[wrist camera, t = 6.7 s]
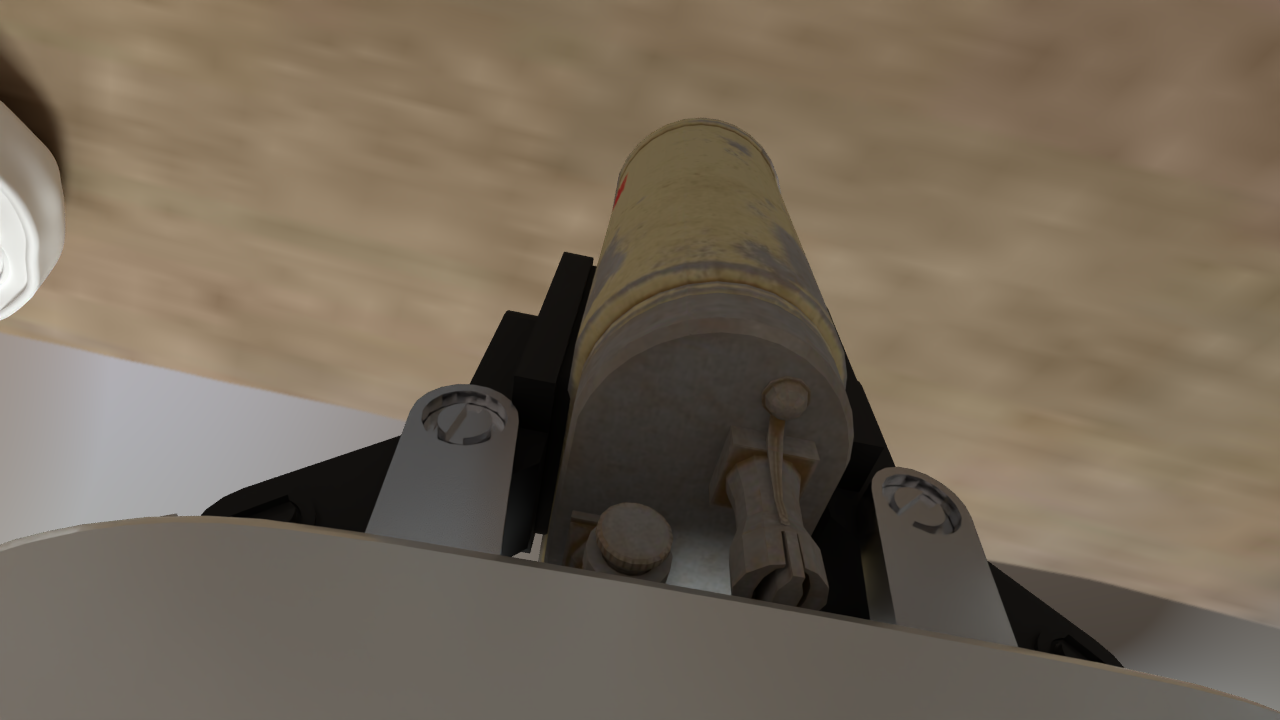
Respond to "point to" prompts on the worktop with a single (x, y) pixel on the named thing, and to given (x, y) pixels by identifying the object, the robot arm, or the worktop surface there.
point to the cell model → (27, 213)
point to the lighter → (702, 383)
